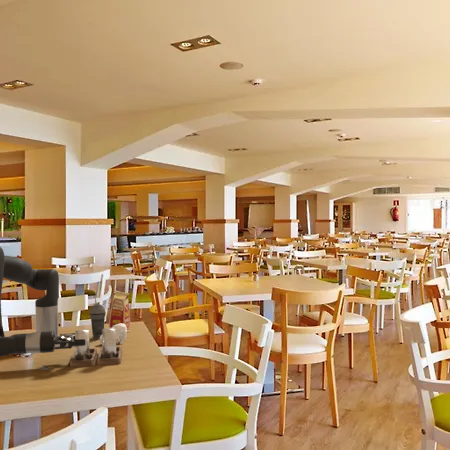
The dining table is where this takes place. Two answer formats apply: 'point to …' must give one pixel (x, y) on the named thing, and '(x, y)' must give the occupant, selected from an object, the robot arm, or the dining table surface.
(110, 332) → the cylinder
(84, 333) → the steel billet
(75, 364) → the tray
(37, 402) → the dining table surface
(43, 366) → the rubber mat
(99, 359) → the tray
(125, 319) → the milk carton
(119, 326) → the white animal figurine
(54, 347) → the robot arm
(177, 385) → the dining table surface
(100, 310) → the beverage cup
